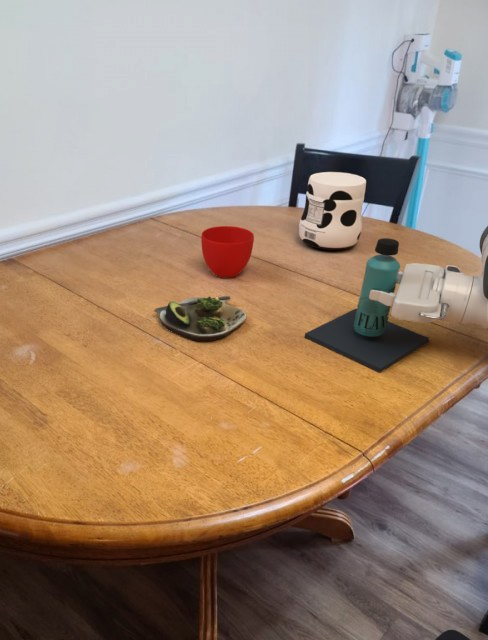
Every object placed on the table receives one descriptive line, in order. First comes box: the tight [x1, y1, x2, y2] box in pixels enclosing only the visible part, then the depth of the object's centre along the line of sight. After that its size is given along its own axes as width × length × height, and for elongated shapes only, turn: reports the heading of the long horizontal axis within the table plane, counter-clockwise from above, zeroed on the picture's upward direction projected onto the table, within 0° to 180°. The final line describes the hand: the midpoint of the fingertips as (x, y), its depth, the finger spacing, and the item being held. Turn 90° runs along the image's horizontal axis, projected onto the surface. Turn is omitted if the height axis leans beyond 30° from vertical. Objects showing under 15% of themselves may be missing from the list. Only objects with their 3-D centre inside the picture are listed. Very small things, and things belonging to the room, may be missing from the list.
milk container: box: [298, 171, 367, 251], centre depth 157 cm, size 17×17×18 cm
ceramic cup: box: [200, 225, 255, 278], centre depth 143 cm, size 13×17×10 cm
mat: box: [304, 308, 431, 374], centre depth 116 cm, size 18×18×1 cm
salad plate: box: [153, 295, 247, 343], centre depth 122 cm, size 19×18×5 cm
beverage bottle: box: [354, 237, 401, 337], centre depth 110 cm, size 6×7×20 cm
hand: (373, 284), depth 110 cm, fingers open, 8 cm apart
